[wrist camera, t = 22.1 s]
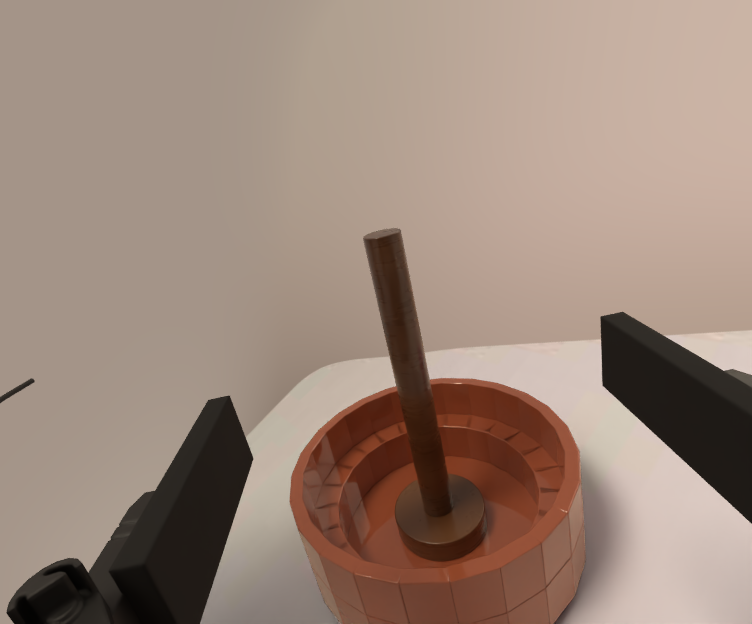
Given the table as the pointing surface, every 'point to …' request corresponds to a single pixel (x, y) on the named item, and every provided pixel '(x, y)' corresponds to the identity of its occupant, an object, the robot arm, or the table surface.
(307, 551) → the bowl
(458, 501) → the paper towel holder
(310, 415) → the table surface
